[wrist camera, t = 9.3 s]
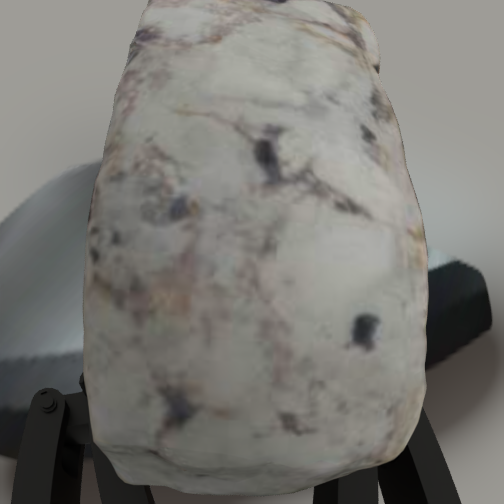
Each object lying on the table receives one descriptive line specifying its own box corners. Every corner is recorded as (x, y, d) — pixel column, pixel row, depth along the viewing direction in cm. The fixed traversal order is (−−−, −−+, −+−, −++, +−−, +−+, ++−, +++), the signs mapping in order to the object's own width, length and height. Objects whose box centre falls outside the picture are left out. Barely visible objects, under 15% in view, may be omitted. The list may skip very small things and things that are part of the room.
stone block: (163, 204, 25) (132, -37, 6) (249, 200, 26) (356, -17, 7) (173, 374, 22) (111, 545, 3) (265, 366, 23) (477, 453, 4)
